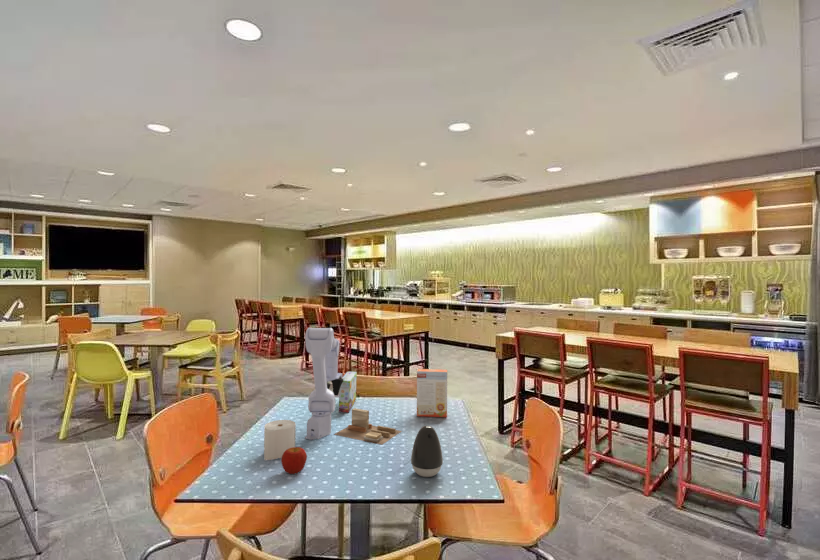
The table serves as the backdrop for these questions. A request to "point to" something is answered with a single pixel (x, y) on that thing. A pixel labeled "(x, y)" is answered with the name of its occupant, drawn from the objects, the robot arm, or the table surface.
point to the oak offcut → (373, 435)
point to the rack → (360, 432)
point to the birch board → (360, 418)
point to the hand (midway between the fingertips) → (330, 397)
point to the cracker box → (432, 393)
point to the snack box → (347, 392)
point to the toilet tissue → (278, 438)
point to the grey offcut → (374, 439)
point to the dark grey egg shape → (426, 452)
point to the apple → (294, 460)
